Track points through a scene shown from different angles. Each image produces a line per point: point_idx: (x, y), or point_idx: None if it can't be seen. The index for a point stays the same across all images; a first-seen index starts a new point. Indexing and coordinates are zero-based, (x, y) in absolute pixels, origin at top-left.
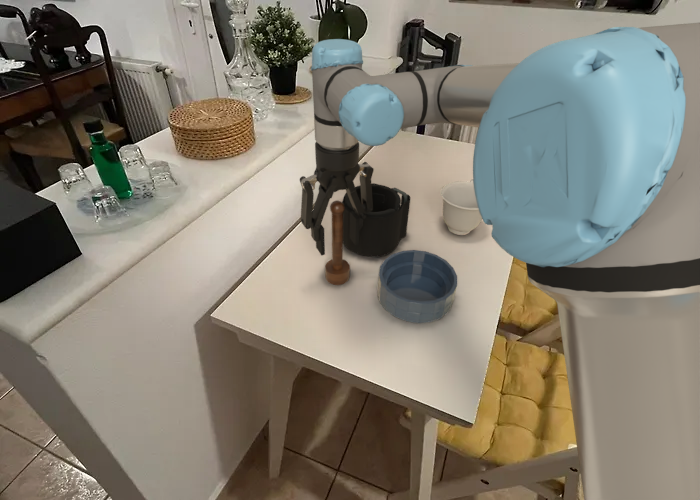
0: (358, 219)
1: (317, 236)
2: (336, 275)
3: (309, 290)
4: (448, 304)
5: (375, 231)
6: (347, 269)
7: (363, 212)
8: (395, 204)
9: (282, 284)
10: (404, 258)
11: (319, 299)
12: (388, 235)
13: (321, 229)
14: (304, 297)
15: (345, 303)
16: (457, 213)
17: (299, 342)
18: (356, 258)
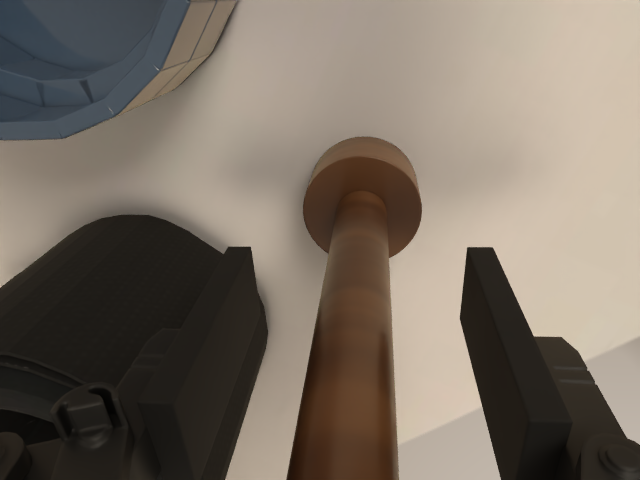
0: (152, 395)
1: (552, 369)
2: (391, 161)
3: (515, 160)
4: None
5: (103, 306)
6: (325, 175)
7: (68, 450)
8: None
9: (598, 238)
10: (21, 110)
11: (504, 88)
12: (53, 270)
13: (560, 417)
14: (558, 129)
15: (405, 10)
16: None
17: None
18: None
